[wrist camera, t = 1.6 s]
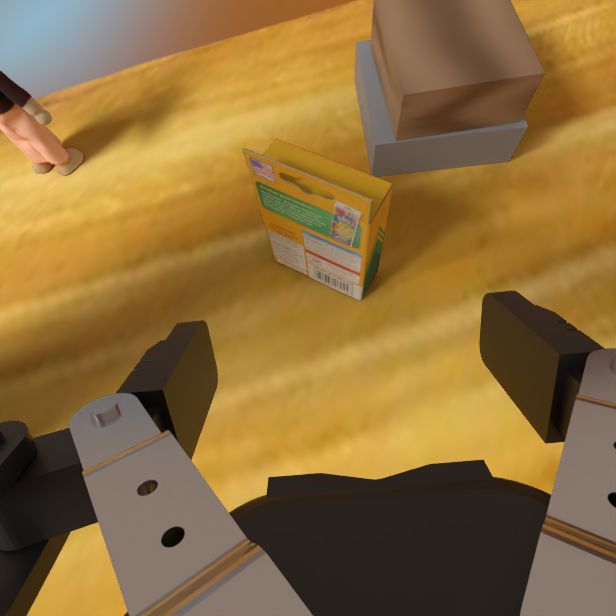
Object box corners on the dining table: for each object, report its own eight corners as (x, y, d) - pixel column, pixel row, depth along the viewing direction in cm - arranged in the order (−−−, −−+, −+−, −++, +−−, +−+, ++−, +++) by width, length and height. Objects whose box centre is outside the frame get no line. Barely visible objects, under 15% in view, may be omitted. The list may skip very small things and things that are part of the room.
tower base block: (371, 181, 33) (375, 145, 30) (354, 84, 37) (356, 42, 34) (507, 165, 33) (528, 126, 29) (475, 69, 37) (490, 24, 33)
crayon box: (379, 269, 30) (402, 156, 19) (360, 302, 29) (373, 204, 18) (293, 230, 32) (270, 108, 21) (273, 261, 31) (238, 149, 20)
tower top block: (395, 141, 30) (403, 94, 26) (370, 46, 33) (374, -6, 30) (519, 122, 29) (545, 72, 26) (480, 29, 33) (498, -26, 29)
